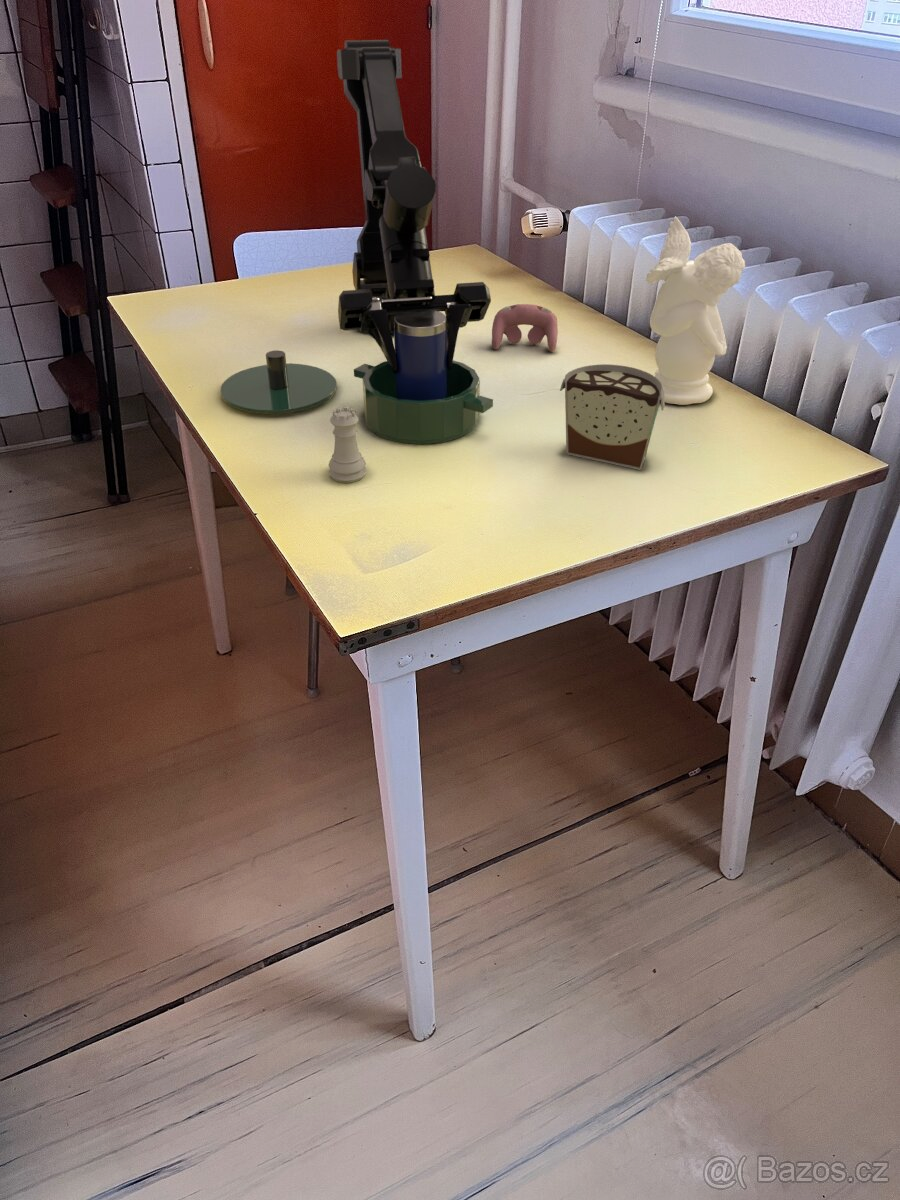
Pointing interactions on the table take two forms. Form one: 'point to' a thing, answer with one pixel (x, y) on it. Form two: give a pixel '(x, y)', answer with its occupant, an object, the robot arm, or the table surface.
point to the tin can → (421, 354)
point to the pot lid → (278, 386)
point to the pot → (421, 406)
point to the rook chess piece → (346, 448)
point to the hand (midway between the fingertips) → (422, 370)
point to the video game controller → (525, 315)
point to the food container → (611, 413)
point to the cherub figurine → (690, 313)
